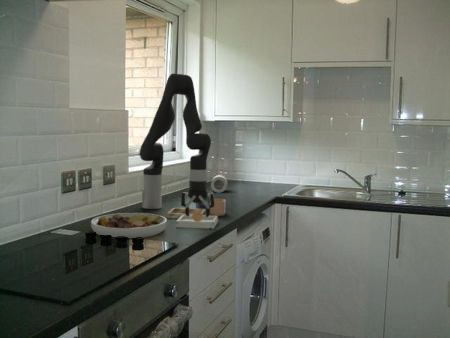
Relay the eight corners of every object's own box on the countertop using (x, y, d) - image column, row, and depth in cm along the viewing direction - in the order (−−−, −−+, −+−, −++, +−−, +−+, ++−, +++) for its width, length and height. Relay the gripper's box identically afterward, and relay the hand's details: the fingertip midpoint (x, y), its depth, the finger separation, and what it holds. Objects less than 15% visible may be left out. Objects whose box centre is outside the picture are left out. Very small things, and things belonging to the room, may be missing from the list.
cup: (209, 215, 235) (209, 201, 234) (211, 212, 242) (211, 198, 241) (224, 216, 234) (224, 201, 233) (225, 213, 241) (225, 199, 240)
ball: (191, 222, 212) (191, 212, 212) (193, 220, 217) (193, 210, 216) (201, 222, 212) (201, 212, 212) (203, 220, 216) (203, 210, 216)
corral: (167, 217, 227) (167, 213, 227) (173, 212, 241) (173, 207, 241) (201, 219, 225) (201, 214, 225) (205, 213, 239) (205, 209, 239)
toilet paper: (211, 190, 318) (212, 174, 317) (227, 190, 318) (227, 175, 316) (210, 192, 308) (211, 176, 307) (226, 192, 308) (227, 177, 307)
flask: (196, 210, 247) (196, 189, 246) (195, 209, 249) (195, 188, 248) (214, 209, 250) (214, 188, 248) (212, 208, 252) (212, 188, 251)
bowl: (98, 224, 213) (98, 206, 212) (168, 224, 215) (168, 206, 214) (83, 241, 183) (83, 220, 183) (164, 241, 185) (164, 220, 185)
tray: (176, 227, 208) (176, 220, 208) (182, 220, 222) (182, 214, 222) (213, 228, 207) (213, 222, 207) (217, 221, 221) (217, 215, 220)
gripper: (180, 180, 210) (179, 217, 211) (213, 181, 208) (212, 218, 210) (183, 178, 217) (183, 214, 219) (215, 179, 216) (214, 215, 217)
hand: (197, 216), depth 214 cm, fingers open, 8 cm apart
